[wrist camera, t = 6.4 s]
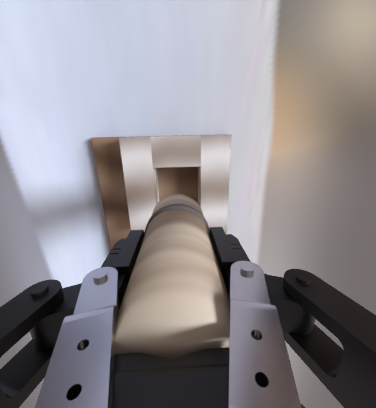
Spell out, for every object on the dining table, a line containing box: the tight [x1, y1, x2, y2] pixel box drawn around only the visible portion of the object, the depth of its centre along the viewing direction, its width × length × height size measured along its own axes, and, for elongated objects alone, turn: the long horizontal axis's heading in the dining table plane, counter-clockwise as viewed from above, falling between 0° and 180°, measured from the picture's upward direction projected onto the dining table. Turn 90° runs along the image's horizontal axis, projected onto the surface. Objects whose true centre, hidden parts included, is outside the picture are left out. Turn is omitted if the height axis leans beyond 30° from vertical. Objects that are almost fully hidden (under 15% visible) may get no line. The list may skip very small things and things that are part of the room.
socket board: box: [91, 135, 231, 250], centre depth 27 cm, size 20×17×6 cm
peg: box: [115, 194, 230, 359], centre depth 11 cm, size 4×4×12 cm
